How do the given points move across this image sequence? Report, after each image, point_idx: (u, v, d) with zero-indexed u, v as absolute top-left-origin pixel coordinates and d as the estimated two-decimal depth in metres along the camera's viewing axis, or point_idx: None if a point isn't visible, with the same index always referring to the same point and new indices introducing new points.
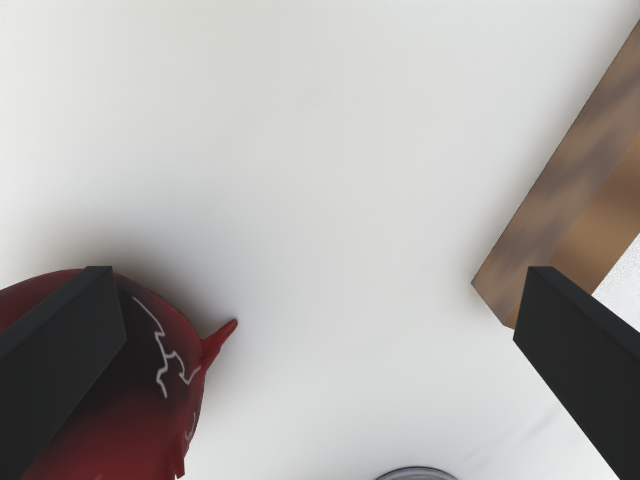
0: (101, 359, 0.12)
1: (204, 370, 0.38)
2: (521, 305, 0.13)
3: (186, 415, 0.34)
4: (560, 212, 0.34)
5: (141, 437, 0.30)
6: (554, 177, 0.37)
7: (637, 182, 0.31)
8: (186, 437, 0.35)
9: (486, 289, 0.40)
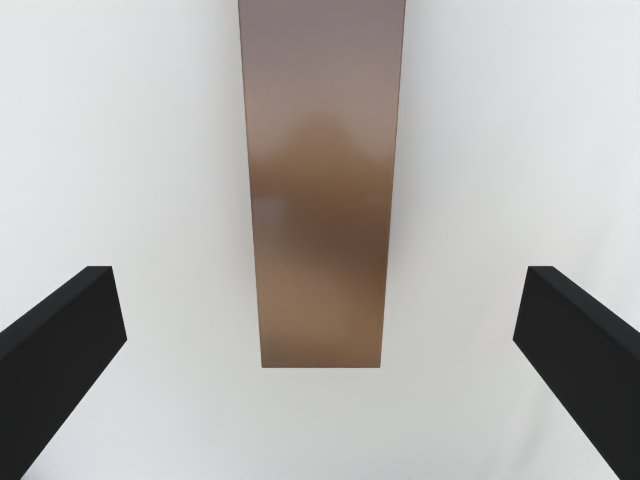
0: (101, 359, 0.12)
1: None
2: (521, 305, 0.13)
3: None
4: None
5: None
6: None
7: None
8: None
9: None
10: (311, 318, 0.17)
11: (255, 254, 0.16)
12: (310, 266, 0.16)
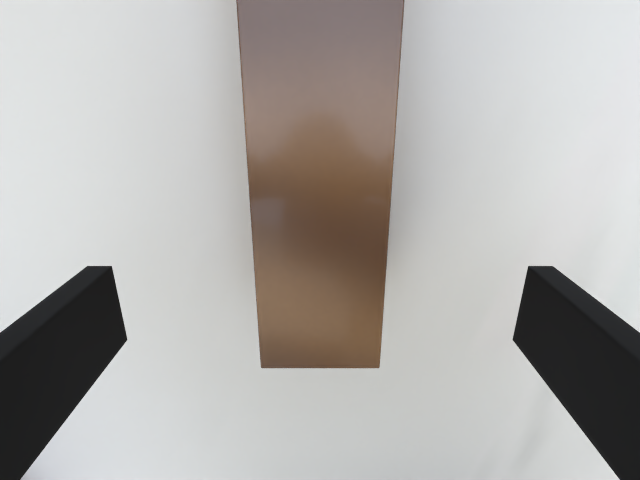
0: (102, 359, 0.12)
1: None
2: (521, 305, 0.13)
3: None
4: None
5: None
6: None
7: None
8: None
9: None
10: (310, 318, 0.17)
11: (254, 254, 0.16)
12: (309, 266, 0.16)
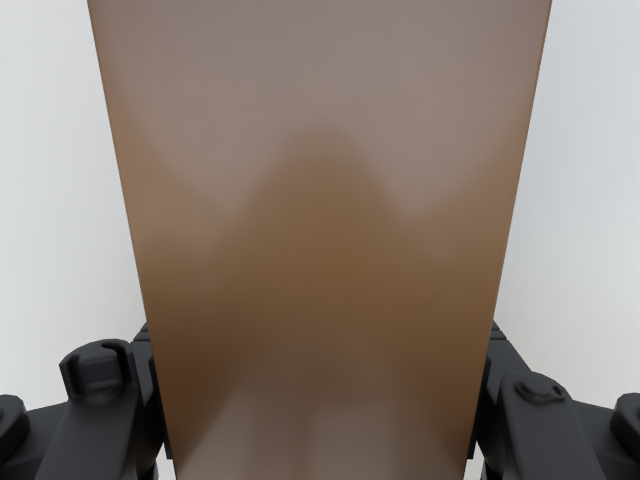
0: None
1: None
2: None
3: None
4: None
5: None
6: None
7: None
8: None
9: None
10: None
11: (173, 457, 0.07)
12: (295, 478, 0.07)
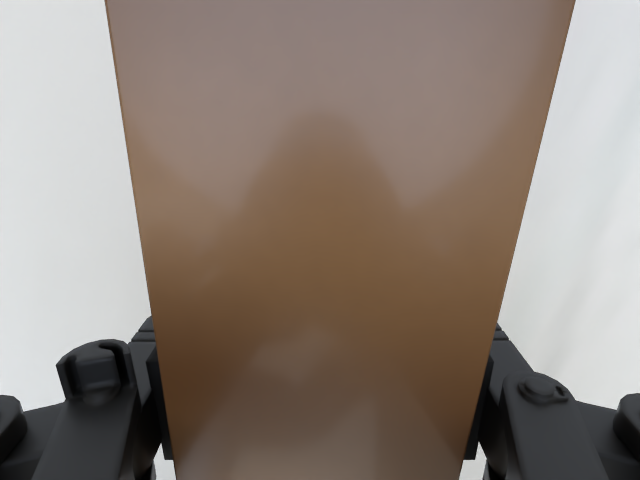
0: None
1: None
2: None
3: None
4: None
5: None
6: None
7: None
8: None
9: None
10: None
11: (173, 451, 0.07)
12: (294, 475, 0.07)
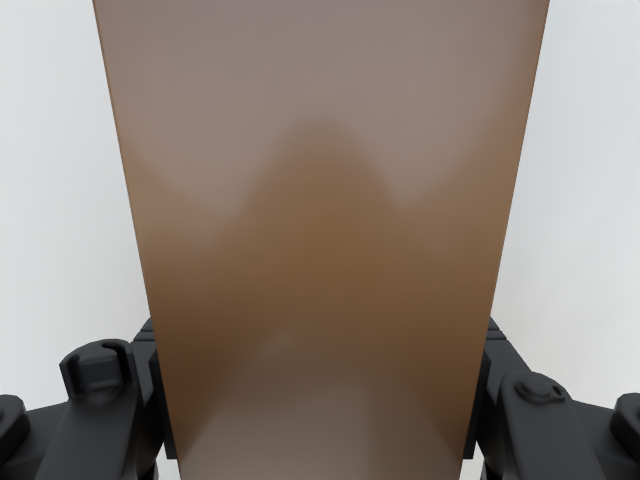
0: None
1: None
2: None
3: None
4: None
5: None
6: None
7: None
8: None
9: None
10: None
11: (176, 450, 0.07)
12: (296, 470, 0.07)
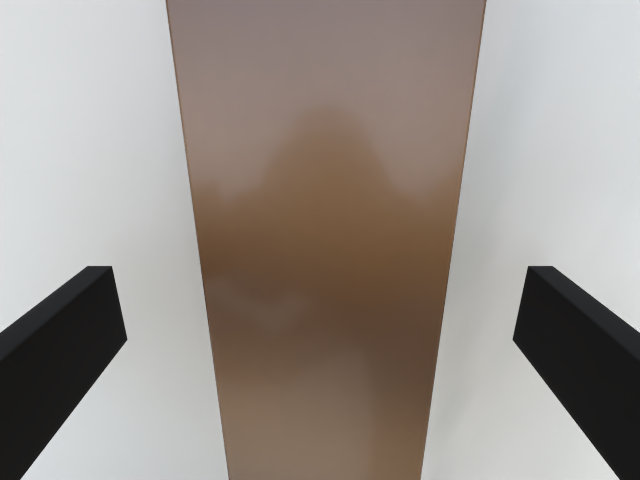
0: (102, 359, 0.12)
1: None
2: (521, 305, 0.13)
3: None
4: None
5: None
6: None
7: None
8: None
9: None
10: (309, 449, 0.11)
11: (214, 359, 0.09)
12: (306, 377, 0.10)
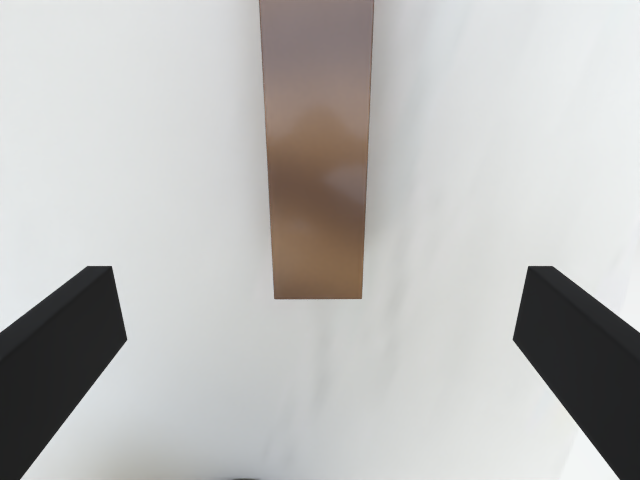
0: (101, 359, 0.12)
1: None
2: (521, 305, 0.13)
3: None
4: None
5: None
6: None
7: (310, 16, 0.19)
8: None
9: None
10: (310, 260, 0.23)
11: (270, 212, 0.22)
12: (310, 220, 0.22)
